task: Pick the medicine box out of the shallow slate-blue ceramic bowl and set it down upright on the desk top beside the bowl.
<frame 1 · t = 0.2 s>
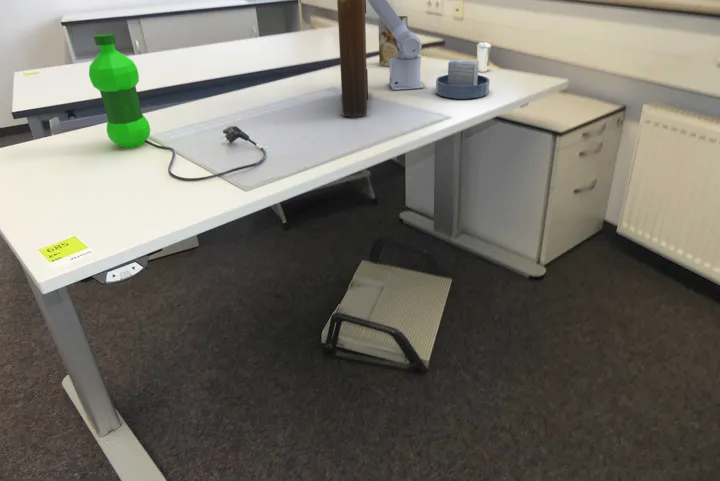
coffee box: (393, 65, 194), on the table
milkshake: (483, 71, 181), on the table
dark brown tall slab: (355, 105, 151), on the table
bowl: (461, 92, 158), on the table
plastic bottle: (132, 145, 129), on the table
medicine box: (461, 92, 158), resting on bowl
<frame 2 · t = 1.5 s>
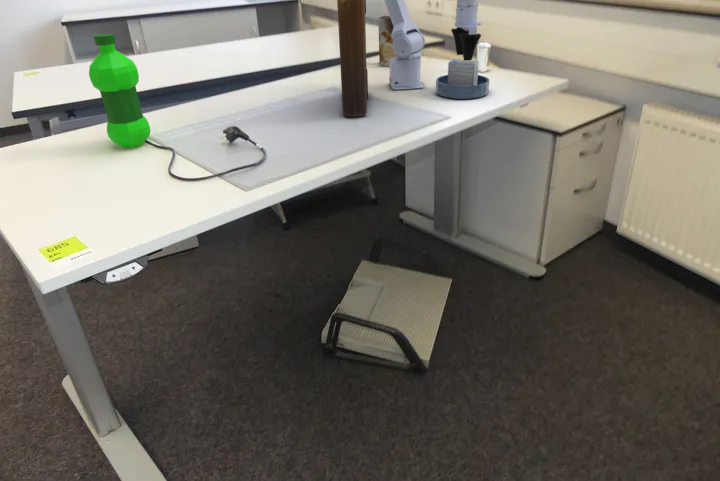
hand: (464, 57, 153), 10 cm above the table, tool pointing down, fingers open, 7 cm apart
nothing on the table moved.
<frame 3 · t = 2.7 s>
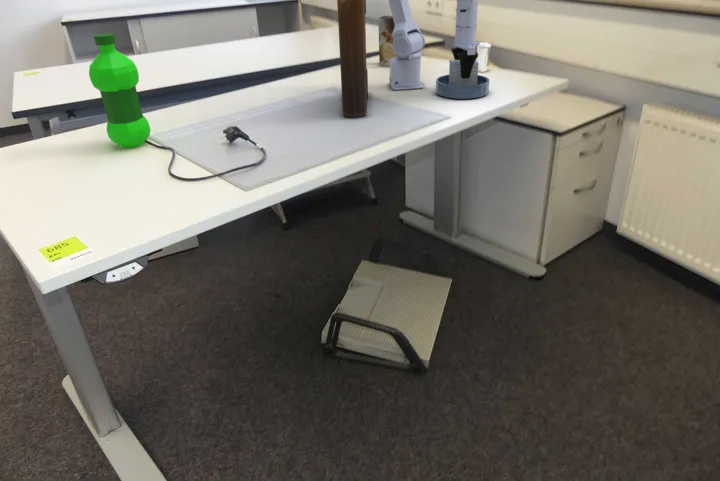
hand: (463, 75, 156), 5 cm above the table, tool pointing down, fingers closed on medicine box, 5 cm apart
medicine box: (462, 92, 158), resting on bowl, touching gripper
everything else where it was.
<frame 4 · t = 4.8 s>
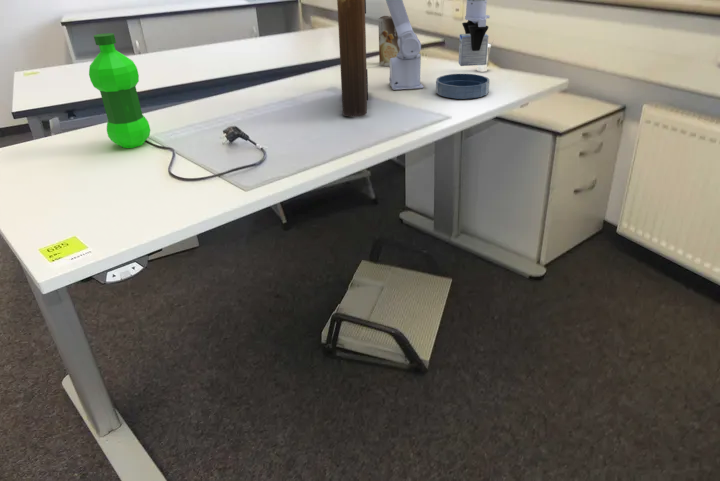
hand: (473, 48, 161), 10 cm above the table, tool pointing down, fingers closed on medicine box, 4 cm apart
medicine box: (472, 65, 164), point 6 cm above the table, touching gripper
everything else where it was.
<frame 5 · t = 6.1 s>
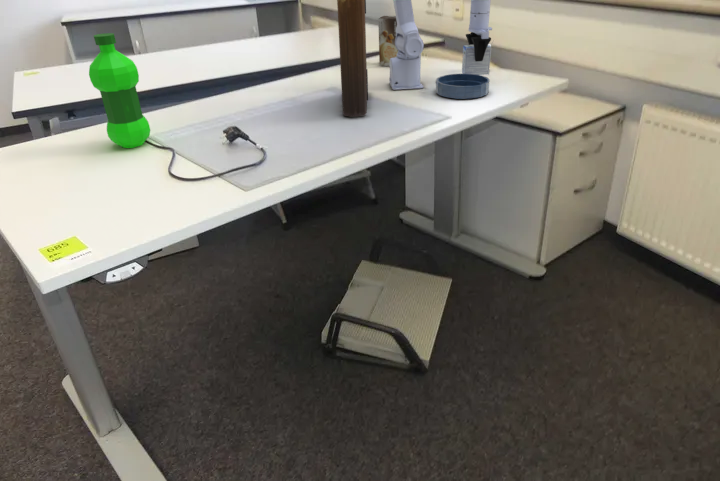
hand: (476, 59, 168), 6 cm above the table, tool pointing down, fingers closed on medicine box, 4 cm apart
medicine box: (475, 74, 170), point 2 cm above the table, touching gripper
everything else where it was.
when the fingers open (5 cm above the table, at t = 7.1 s): medicine box stays where it is, on the table.
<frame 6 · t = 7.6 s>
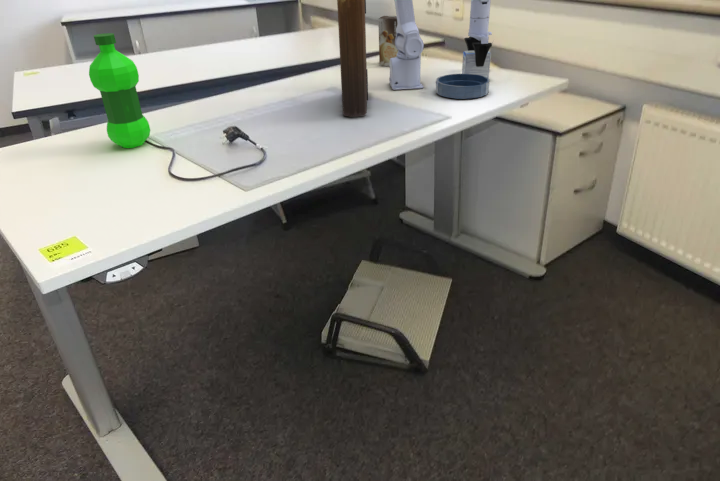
hand: (476, 63, 168), 5 cm above the table, tool pointing down, fingers open, 7 cm apart
medicine box: (474, 80, 171), on the table
everything else where it was.
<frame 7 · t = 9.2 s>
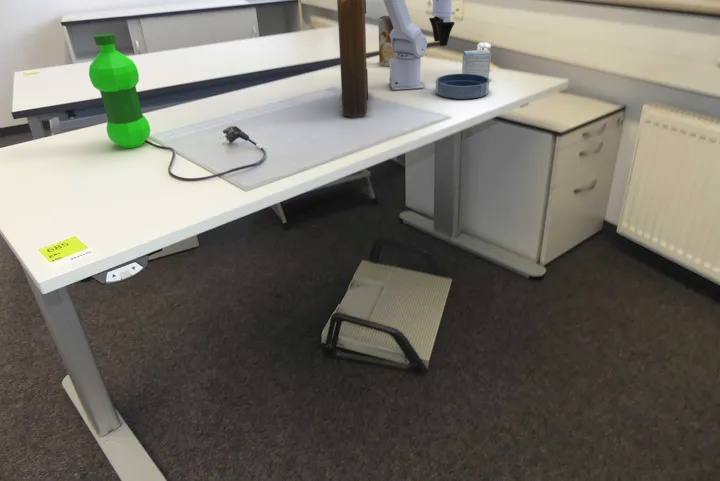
hand: (440, 43, 171), 10 cm above the table, tool pointing down, fingers open, 7 cm apart
nothing on the table moved.
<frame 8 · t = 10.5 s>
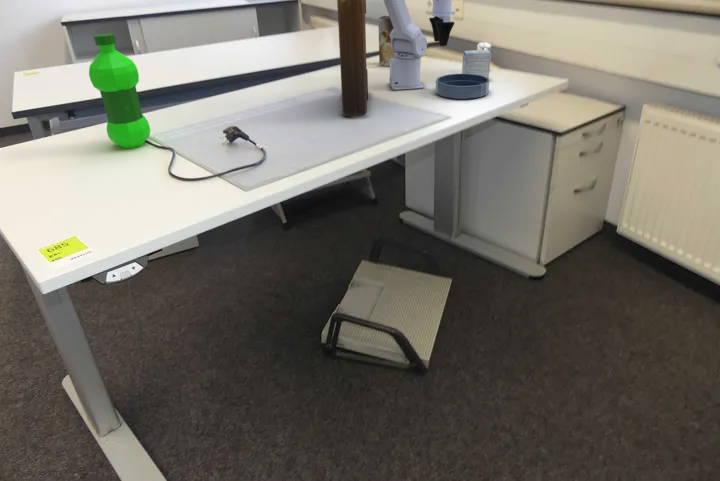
hand: (440, 43, 171), 10 cm above the table, tool pointing down, fingers open, 7 cm apart
nothing on the table moved.
at the end: medicine box inside the target area (0.1 cm from its centre), on the table; medicine box touching table; medicine box tilted 0° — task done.
